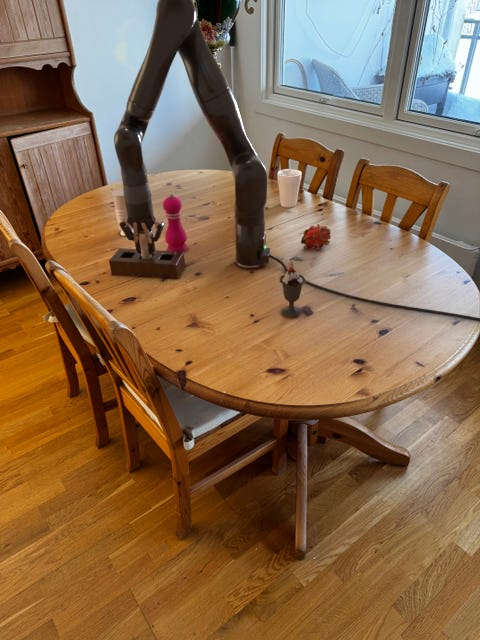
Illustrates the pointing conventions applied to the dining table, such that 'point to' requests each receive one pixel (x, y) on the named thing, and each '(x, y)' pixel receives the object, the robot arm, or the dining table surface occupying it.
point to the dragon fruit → (316, 237)
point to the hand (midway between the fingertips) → (146, 252)
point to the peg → (144, 245)
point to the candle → (120, 208)
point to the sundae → (292, 290)
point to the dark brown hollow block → (147, 264)
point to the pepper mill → (174, 224)
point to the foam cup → (289, 186)
